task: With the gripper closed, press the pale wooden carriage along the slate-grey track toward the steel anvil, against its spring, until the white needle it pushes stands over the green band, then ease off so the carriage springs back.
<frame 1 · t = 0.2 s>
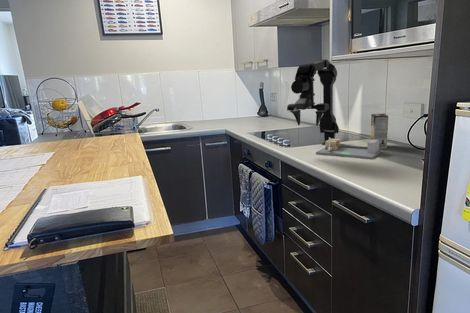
hand: (307, 125, 156), 14 cm above the table, tool pointing down, fingers open, 9 cm apart
carriage: (331, 145, 162), point 3 cm above the table, slide at 0.0 cm
gauge base: (348, 152, 157), on the table
needle: (329, 143, 156), point 5 cm above the table, slide at 0.0 cm
coffee box: (378, 147, 166), on the table
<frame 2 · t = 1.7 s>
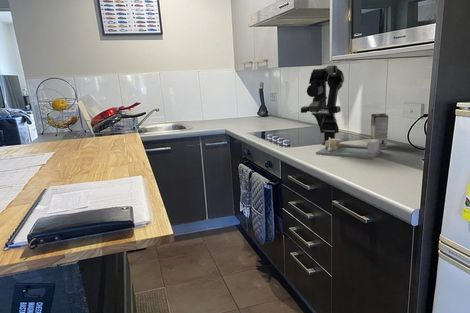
hand: (320, 126, 166), 12 cm above the table, tool pointing down, fingers closed
nothing on the table moved.
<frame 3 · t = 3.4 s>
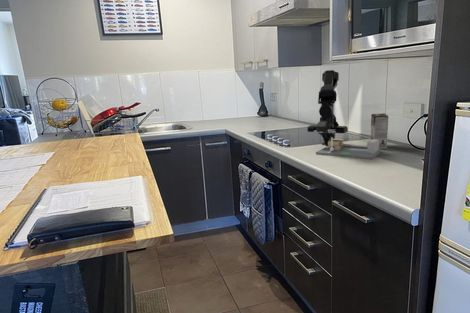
hand: (327, 146, 166), 2 cm above the table, tool pointing down, fingers closed
carriage: (333, 145, 161), point 3 cm above the table, slide at 1.4 cm, touching gripper, needle
needle: (331, 143, 155), point 5 cm above the table, slide at 1.1 cm, touching carriage
everything else where it was.
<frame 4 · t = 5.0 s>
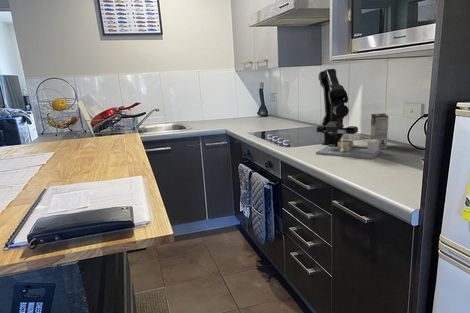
hand: (336, 146, 163), 2 cm above the table, tool pointing down, fingers closed
carriage: (343, 146, 158), point 3 cm above the table, slide at 6.3 cm, touching gripper, needle
needle: (342, 144, 152), point 5 cm above the table, slide at 6.0 cm, touching carriage
everything else where it was.
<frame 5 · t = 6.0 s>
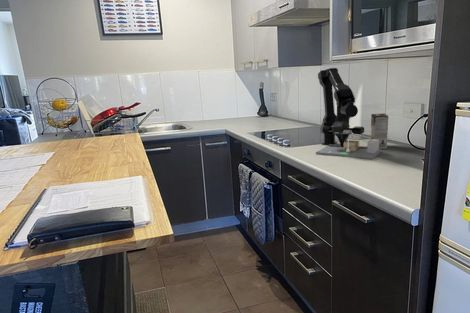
hand: (342, 147, 161), 2 cm above the table, tool pointing down, fingers closed
carriage: (349, 146, 156), point 3 cm above the table, slide at 9.1 cm, touching gripper, needle
needle: (348, 144, 151), point 5 cm above the table, slide at 8.8 cm, touching carriage
everything else where it was.
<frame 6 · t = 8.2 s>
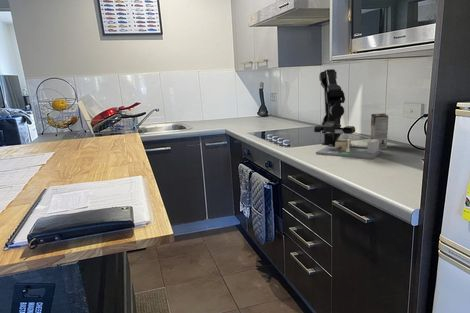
hand: (334, 146, 163), 2 cm above the table, tool pointing down, fingers closed
carriage: (341, 145, 159), point 3 cm above the table, slide at 5.0 cm, touching gripper
needle: (348, 144, 151), point 5 cm above the table, slide at 8.8 cm
everything else where it was.
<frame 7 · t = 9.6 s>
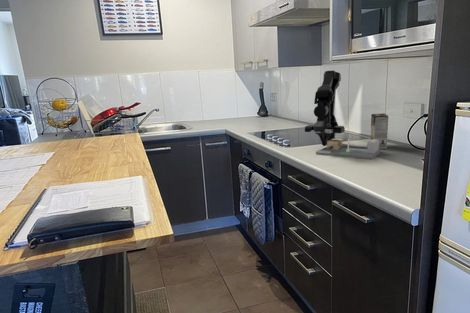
hand: (324, 145, 166), 2 cm above the table, tool pointing down, fingers closed
carriage: (333, 145, 161), point 3 cm above the table, slide at 1.0 cm
everything else where it was.
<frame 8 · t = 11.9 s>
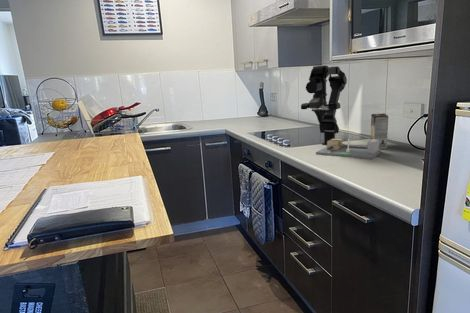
hand: (320, 123, 168), 13 cm above the table, tool pointing down, fingers closed
nothing on the table moved.
at the end: needle slide at 8.8 cm; carriage slide at 1.0 cm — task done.
